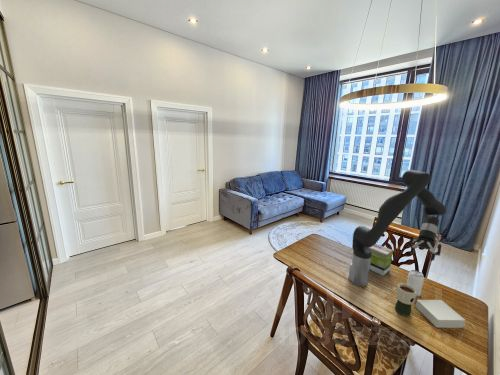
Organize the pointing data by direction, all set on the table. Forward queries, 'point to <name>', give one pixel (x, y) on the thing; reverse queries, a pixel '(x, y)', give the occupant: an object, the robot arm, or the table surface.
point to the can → (415, 281)
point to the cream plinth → (440, 314)
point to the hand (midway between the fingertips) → (421, 257)
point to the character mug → (405, 299)
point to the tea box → (380, 259)
